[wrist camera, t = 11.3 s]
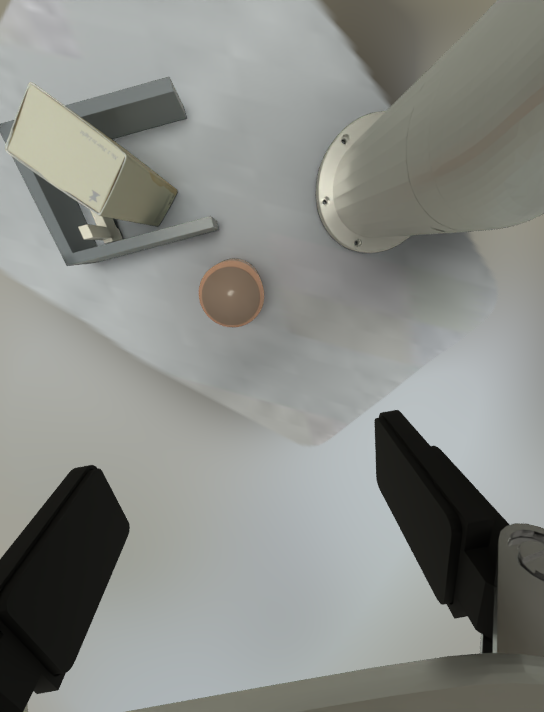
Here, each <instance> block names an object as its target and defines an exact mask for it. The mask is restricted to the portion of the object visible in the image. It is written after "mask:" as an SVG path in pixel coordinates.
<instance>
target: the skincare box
mask: <svg viewBox="0 0 544 712" xmlns="http://www.w3.org/2000/svg"><path fill="white" fill-rule="evenodd" d="M5 150H6V152H7V153H8V154H10V155H11V156H12V157H14V158H15V159H16V160H18V161H19V162H21V163H22V164H23V165H25V166H26V167H28V168H29V169H31V170H32V171H33V172H35V173H36V174H38V175H39V176H40V177H42V178H43V179H45V180H46V181H48V182H49V183H50V184H52V185H53V186H55V187H56V188H58V189H59V190H61V191H62V192H64V193H65V194H67V195H68V196H70V197H71V198H73V199H74V200H76V201H77V202H79V203H80V204H82V205H83V206H85V207H86V208H88V209H90V210H91V211H93V212H94V213H96V214H97V215H99V216H103V217H109V218H114V219H120V220H125V221H130V222H136V223H141V224H146V225H152V226H157V227H158V226H159V225H160V223H161V221H162V220H163V218H164V216H165V215H166V213H167V211H168V209H169V207H170V206H171V204H172V202H173V200H174V198H175V196H176V194H177V189H175V188H174V187H173V186H171V185H170V184H169V183H168V182H166V181H165V180H164V179H163V178H162V177H160V176H159V175H158V174H156V173H155V172H154V171H153V170H151V169H150V168H149V167H147V166H146V165H145V164H144V163H142V162H141V161H140V160H138V159H137V158H136V157H134V156H133V155H132V154H131V153H129V152H128V151H127V150H125V149H124V148H123V147H121V146H120V145H119V144H117V143H116V142H114V141H113V140H112V139H110V138H109V137H108V136H106V135H105V134H103V133H102V132H101V131H99V130H98V129H96V128H95V127H94V126H92V125H91V124H90V123H88V122H87V121H85V120H84V119H83V118H81V117H80V116H78V115H77V114H76V113H74V112H73V111H71V110H70V109H69V108H67V107H66V106H64V105H63V104H62V103H60V102H59V101H58V100H56V99H55V98H53V97H52V96H51V95H49V94H48V93H46V92H45V91H44V90H42V89H41V88H40V87H38V86H37V85H35V84H34V83H32V82H30V83H29V84H28V87H27V89H26V92H25V95H24V97H23V100H22V102H21V105H20V107H19V110H18V112H17V115H16V118H15V120H14V123H13V126H12V128H11V131H10V134H9V137H8V139H7V142H6V145H5Z"/></svg>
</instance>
